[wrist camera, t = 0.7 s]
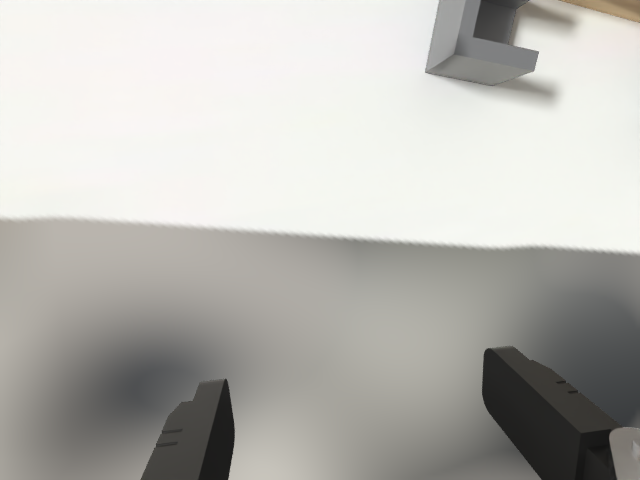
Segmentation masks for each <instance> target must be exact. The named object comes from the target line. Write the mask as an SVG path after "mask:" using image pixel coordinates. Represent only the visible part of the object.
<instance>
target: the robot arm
mask: <svg viewBox="0 0 640 480" xmlns="http://www.w3.org/2000/svg"><path fill="white" fill-rule="evenodd" d="M482 383H483V384H482V395H483V400H484V404H485V406H486V408H487V410H488V412H489V413H490V415H491V416H492V417H493V419H494V420H495V421H496V422H497V423H498V425H499V426H500V427H501V428H502V430H503V431H504V432H505V434H506V435H507V436H508V438H509V439H510V440H511V441H512V443H513V444H514V445H515V446H516V448H517V449H518V450H519V451H520V453H521V454H522V455H523V456H524V458H525V459H526V460H527V461H528V463H529V464H530V465H531V467H532V468H533V469H534V470H535V472H536V473H537V474H538V475H539V477H540V478H541V479H542V480H640V429H637V428H627V427H622V426H621V425H619V424H618V423H617V422H616V421H615V420H614V419H612V418H611V417H610V416H609V415H607V414H606V413H605V412H604V411H602V410H601V409H600V408H599V407H598V406H596V405H595V404H593V402H591V401H590V400H589V399H588V398H586V397H585V396H584V395H583V394H581V393H578V391H577V390H576V389H575V388H574V387H573V386H571V385H570V384H569V383H566V381H565V380H564V379H563V378H562V377H560V376H559V375H558V374H557V373H555V372H554V371H553V370H552V369H550V368H548V367H546V366H544V365H542V364H540V363H538V362H536V361H534V360H529V359H528V358H527V357H525V356H524V355H523V354H522V353H521V352H519V351H518V350H517V349H516V348H514V347H513V346H505V347H496V348H488V349H486V350H485V352H484V362H483V382H482ZM234 438H235V429H234V419H233V413H232V405H231V399H230V392H229V386H228V381H227V379H220V380H212V381H203V382H200V383H199V386H198V389H197V391H196V394H195V397H194V399H193V401H188V402H182V403H180V404H179V406H178V407H177V408H176V409H175V410H174V411H173V412H172V413H171V414H170V415H169V416H168V418H167V421H166V423H165V425H164V427H163V430H162V434H161V435H160V437H159V439H158V441H157V443H156V448H154V451H153V453H152V455H151V457H150V460H149V462H148V464H147V466H146V469H145V471H144V473H143V476H142V478H141V480H228V478H229V472H230V466H231V460H232V454H233V448H234Z"/></svg>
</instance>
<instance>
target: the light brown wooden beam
mask: <svg viewBox="0 0 640 480" xmlns="http://www.w3.org/2000/svg"><path fill="white" fill-rule="evenodd" d="M560 1H563V2H567V3H570V4H574V5H578V6H581V7H585V8H589V9H592V10H596V11H599V12H603V13H607V14H610V15H614V16H617V17H621V18H625V19H628V20H632V21H635V22H639V23H640V0H560Z"/></svg>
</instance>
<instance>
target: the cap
mask: <svg viewBox="0 0 640 480" xmlns="http://www.w3.org/2000/svg"><path fill="white" fill-rule="evenodd" d="M528 1H529V0H439V5H438V10H437V15H436V20H435V25H434V30H433V35H432V40H431V45H430V50H429V55H428V60H427V65H426V70H425V72H426V73H431V74H436V75H441V76H446V77H451V78H456V79H461V80H466V81H471V82H476V83H481V84H486V85H491V86H493V85H496V84H499V83H502V82H505V81H508V80H510V79H513V78H516V77H519V76H522V75H525V74H527V73H530V72H533V71H534V69H535V65H536V62H537V58H538V54H539V51H535V50H530V49H525V48H521V47H516V46H512V45H508V42H509V37H510V33H511V29H512V25H513V21H514V17H515V13H516V9H517V8H519V7H520V6H522V5H523V4H525V3H526V2H528Z"/></svg>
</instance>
